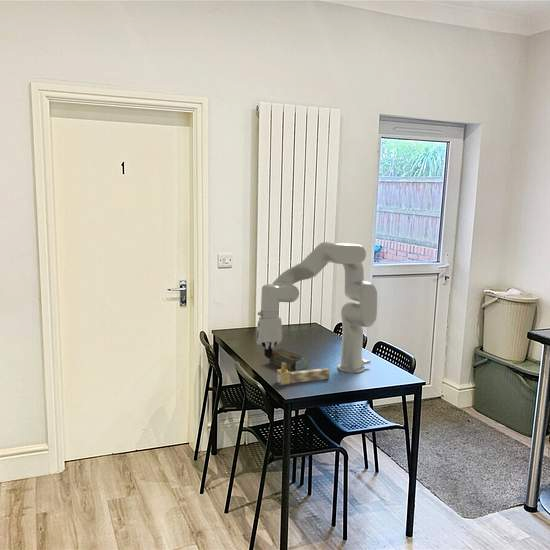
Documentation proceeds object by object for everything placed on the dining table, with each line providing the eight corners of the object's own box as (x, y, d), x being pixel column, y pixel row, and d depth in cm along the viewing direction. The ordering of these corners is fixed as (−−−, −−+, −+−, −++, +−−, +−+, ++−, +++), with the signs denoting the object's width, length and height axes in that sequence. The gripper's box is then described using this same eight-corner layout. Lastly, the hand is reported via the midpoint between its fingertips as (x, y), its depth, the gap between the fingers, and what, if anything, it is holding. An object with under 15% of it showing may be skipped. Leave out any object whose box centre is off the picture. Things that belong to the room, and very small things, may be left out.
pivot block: (286, 381, 236) (286, 371, 235) (289, 384, 233) (289, 374, 232) (277, 382, 234) (277, 372, 234) (280, 385, 231) (280, 375, 231)
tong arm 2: (327, 377, 242) (328, 368, 241) (329, 378, 241) (329, 369, 240) (290, 382, 235) (291, 373, 234) (292, 382, 234) (292, 374, 233)
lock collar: (285, 380, 237) (285, 361, 235) (290, 384, 232) (290, 364, 231) (276, 381, 235) (277, 361, 234) (281, 385, 231) (282, 365, 229)
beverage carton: (295, 374, 247) (295, 360, 246) (268, 363, 261) (268, 350, 260) (307, 371, 252) (308, 357, 251) (280, 360, 266) (281, 347, 265)
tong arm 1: (326, 376, 243) (327, 368, 242) (327, 377, 242) (328, 368, 241) (289, 380, 236) (289, 371, 236) (290, 381, 235) (290, 372, 234)
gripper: (256, 317, 220) (254, 361, 223) (290, 315, 226) (288, 358, 228) (249, 313, 227) (248, 356, 229) (282, 311, 233) (281, 353, 235)
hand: (268, 357), depth 229 cm, fingers closed
